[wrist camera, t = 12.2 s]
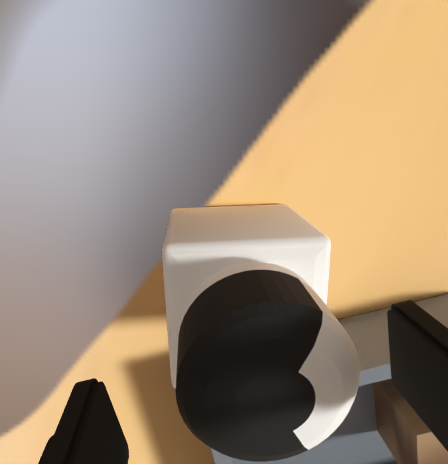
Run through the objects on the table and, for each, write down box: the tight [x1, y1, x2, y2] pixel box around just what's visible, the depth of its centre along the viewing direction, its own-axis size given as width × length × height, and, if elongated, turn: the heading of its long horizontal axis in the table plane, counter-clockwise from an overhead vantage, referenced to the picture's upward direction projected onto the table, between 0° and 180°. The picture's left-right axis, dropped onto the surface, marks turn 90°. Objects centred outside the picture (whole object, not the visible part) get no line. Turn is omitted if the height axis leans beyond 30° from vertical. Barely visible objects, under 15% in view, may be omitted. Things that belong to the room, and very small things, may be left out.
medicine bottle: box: [162, 204, 360, 462], centre depth 16 cm, size 7×7×12 cm
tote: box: [210, 294, 448, 464], centre depth 24 cm, size 19×14×5 cm
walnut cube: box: [373, 378, 448, 464], centre depth 23 cm, size 5×5×5 cm
